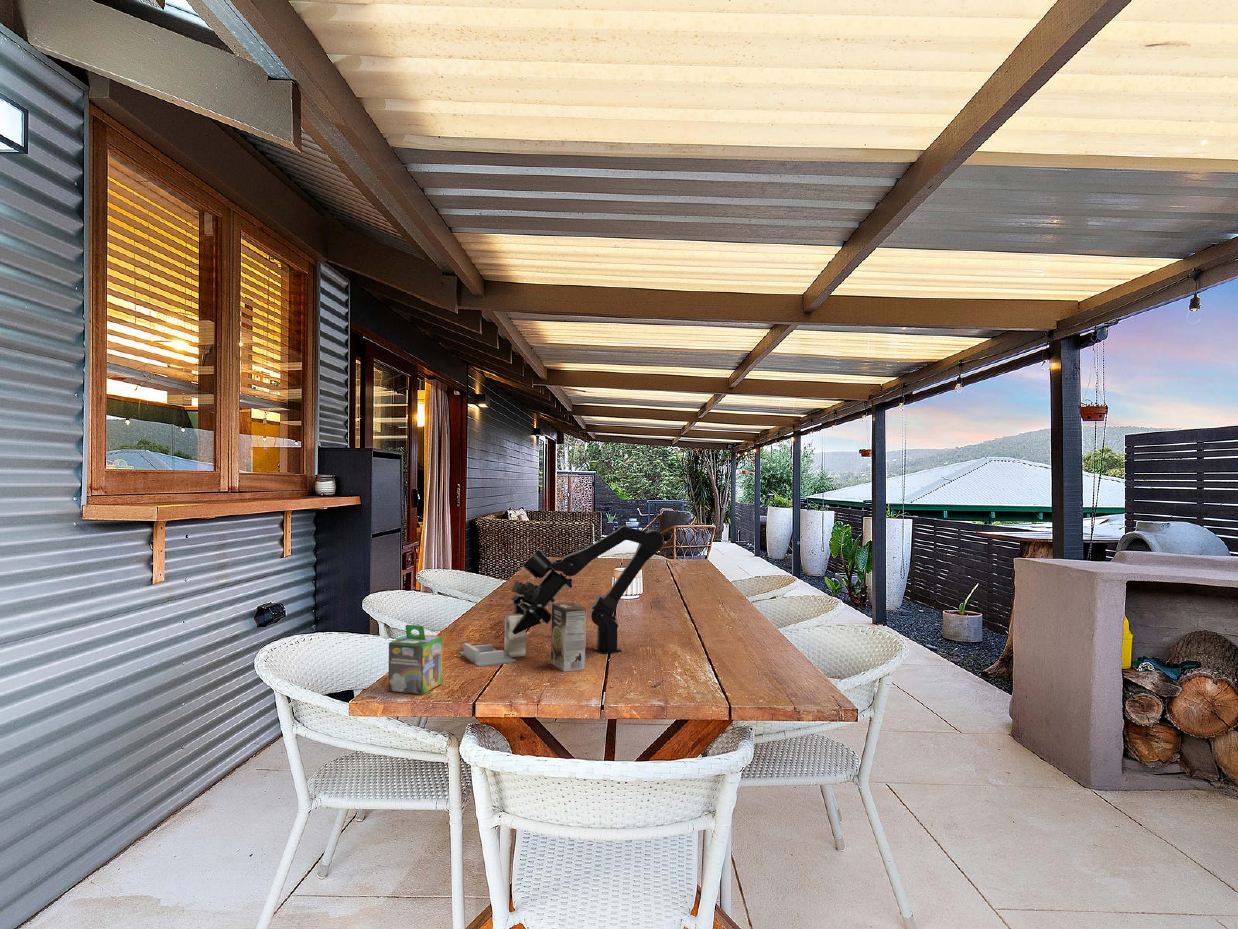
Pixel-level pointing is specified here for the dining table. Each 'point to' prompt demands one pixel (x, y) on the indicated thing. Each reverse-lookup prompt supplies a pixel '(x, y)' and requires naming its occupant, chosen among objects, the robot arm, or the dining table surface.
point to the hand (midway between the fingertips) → (510, 631)
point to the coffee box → (568, 636)
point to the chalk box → (415, 662)
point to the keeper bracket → (485, 655)
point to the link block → (514, 637)
